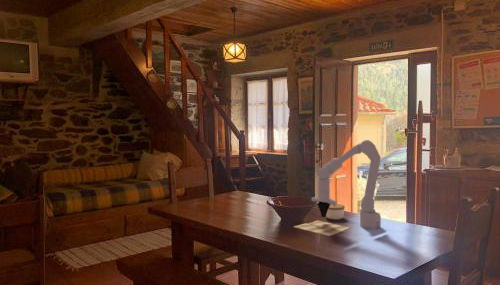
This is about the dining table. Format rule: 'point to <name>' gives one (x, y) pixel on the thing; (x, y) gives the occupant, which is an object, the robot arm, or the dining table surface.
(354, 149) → the robot arm
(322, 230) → the thin wooden board
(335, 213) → the lidded jar
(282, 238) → the dining table surface
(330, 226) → the board
